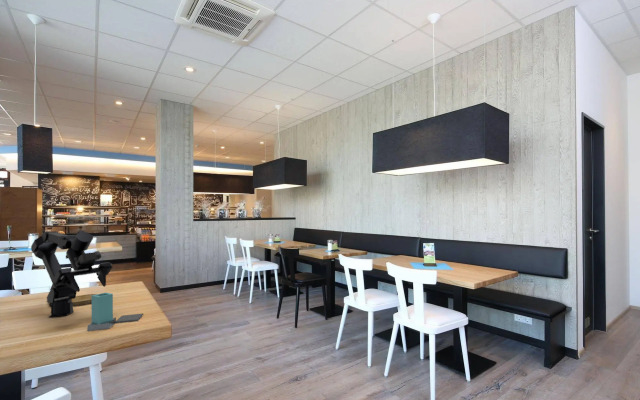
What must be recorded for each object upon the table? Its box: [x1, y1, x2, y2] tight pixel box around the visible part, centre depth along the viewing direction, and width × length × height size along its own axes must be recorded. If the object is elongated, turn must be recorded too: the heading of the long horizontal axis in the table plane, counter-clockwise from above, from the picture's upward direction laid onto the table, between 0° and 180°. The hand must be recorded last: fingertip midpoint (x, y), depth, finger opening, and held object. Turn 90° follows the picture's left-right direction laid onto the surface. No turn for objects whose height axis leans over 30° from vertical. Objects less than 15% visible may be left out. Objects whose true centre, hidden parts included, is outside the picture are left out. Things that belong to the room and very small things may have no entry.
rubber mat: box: [115, 313, 144, 324], centre depth 129 cm, size 8×8×1 cm
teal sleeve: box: [91, 292, 114, 324], centre depth 121 cm, size 5×5×10 cm
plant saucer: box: [72, 293, 97, 307], centre depth 157 cm, size 15×15×3 cm
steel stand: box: [87, 317, 117, 332], centre depth 121 cm, size 7×7×5 cm
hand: (92, 288), depth 125 cm, fingers open, 9 cm apart
